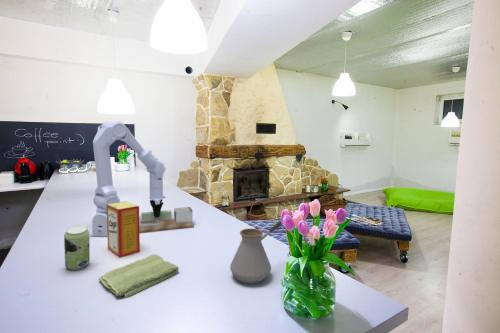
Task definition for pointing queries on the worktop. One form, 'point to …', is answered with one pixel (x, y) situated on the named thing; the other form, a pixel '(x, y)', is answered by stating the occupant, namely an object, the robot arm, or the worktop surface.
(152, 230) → the board
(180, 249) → the worktop surface
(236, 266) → the coffee pot
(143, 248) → the worktop surface
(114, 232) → the baking soda box
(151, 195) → the robot arm
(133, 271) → the washcloth
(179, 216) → the end caps
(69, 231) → the beverage can
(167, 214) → the green long rectangular block
